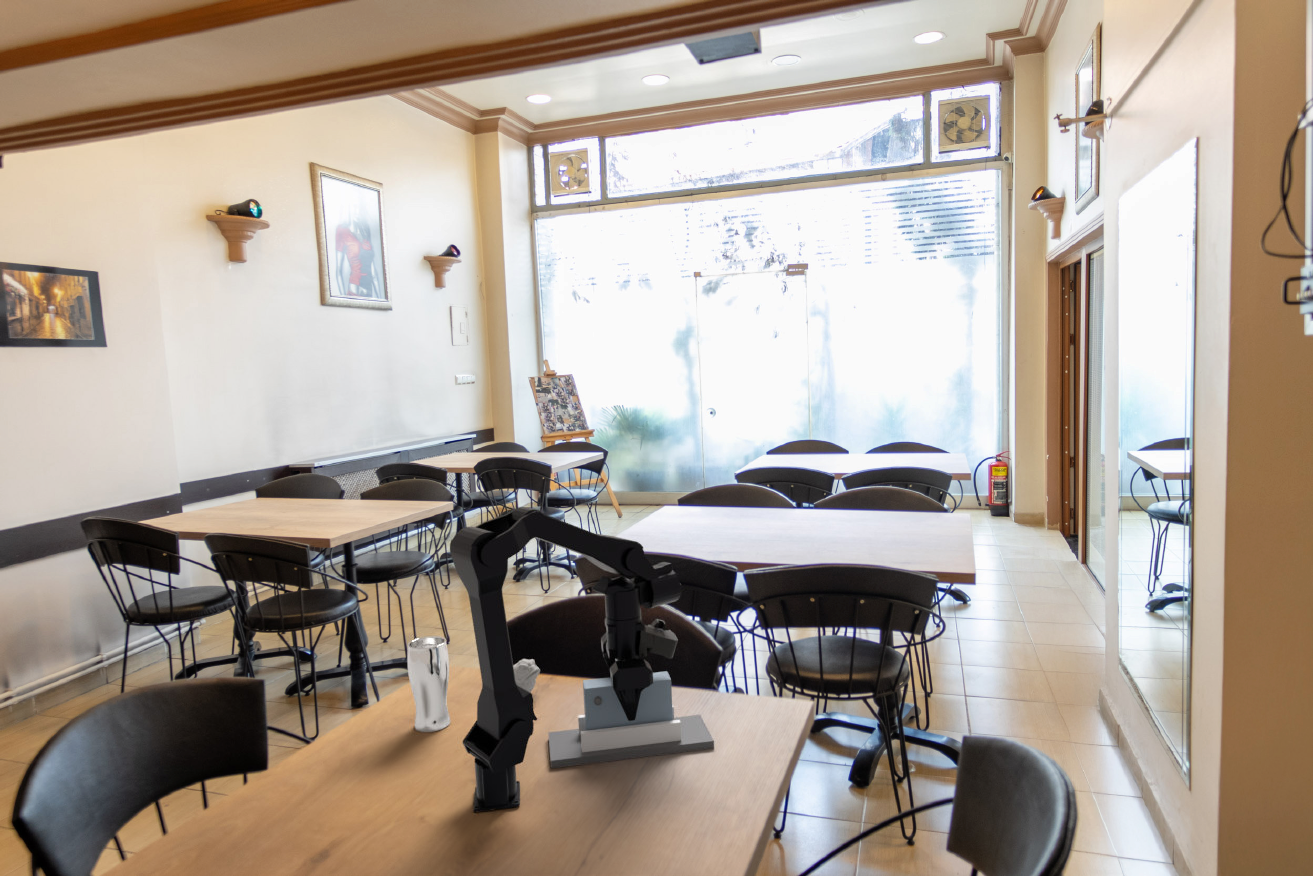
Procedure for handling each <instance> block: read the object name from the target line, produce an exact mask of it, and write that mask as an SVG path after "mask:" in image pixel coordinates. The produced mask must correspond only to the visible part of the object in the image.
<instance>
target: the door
mask: <svg viewBox="0 0 1313 876" xmlns="http://www.w3.org/2000/svg"><path fill="white" fill-rule="evenodd" d="M582 689H583V706H584V707H583V708H584V709H583V710H584V715H585V729H586V731H588V730H596V729H605V728H613V727H622V726H630V725H639V724H647V723H656V722H664V721H673V712H672V705H673V698H672V697H673V694H672V679H671V677H670V674H669V672H668V671H667V670H666V671H658V672H653V684H651V685H650V686H649V687H647V688H645V689H644V690H643V691H642V692H641V695H640V700H639V704H638V709H637V714H636V718H635V720H634V721H628V719H627V717H626V715H625V712H624V710H623V708H622V706H621V704H620V702H619V699H618V697H617V695H616V693H615V691H614V689H613V686H612V683H611V676H610V677H602V678H601V677H600V678H591V679H584V680H582Z"/></svg>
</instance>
